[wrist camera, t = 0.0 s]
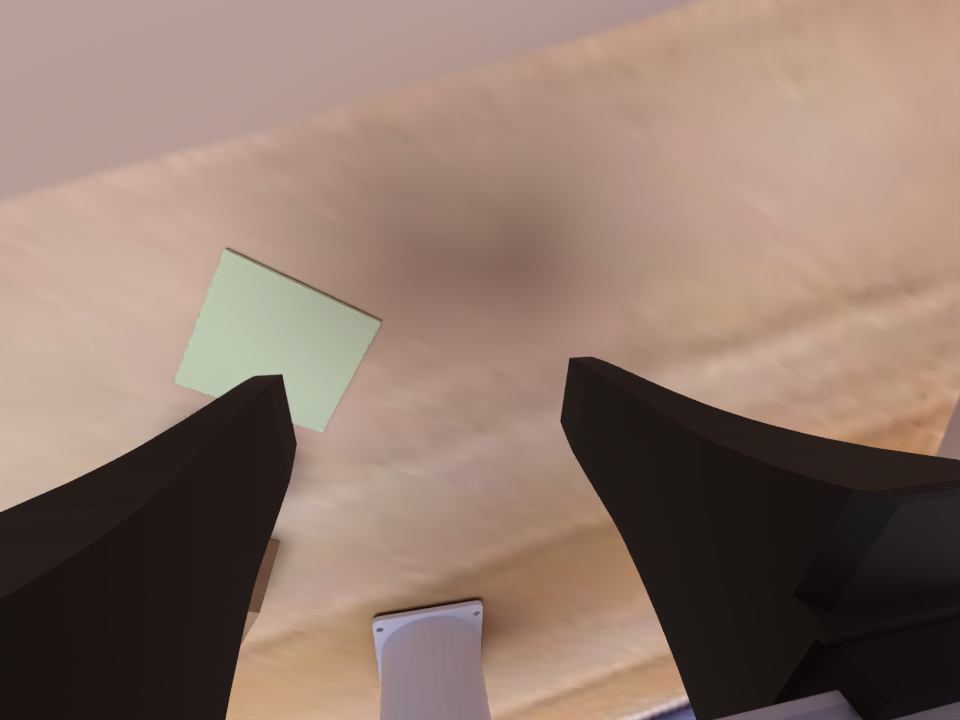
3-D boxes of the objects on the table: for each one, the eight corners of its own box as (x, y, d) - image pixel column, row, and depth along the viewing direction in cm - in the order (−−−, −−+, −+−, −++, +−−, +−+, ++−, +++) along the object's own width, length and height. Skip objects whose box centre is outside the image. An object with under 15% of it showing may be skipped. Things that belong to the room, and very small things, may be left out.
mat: (322, 430, 22) (321, 432, 22) (175, 380, 19) (173, 382, 19) (381, 320, 20) (381, 323, 20) (226, 248, 17) (223, 249, 17)
